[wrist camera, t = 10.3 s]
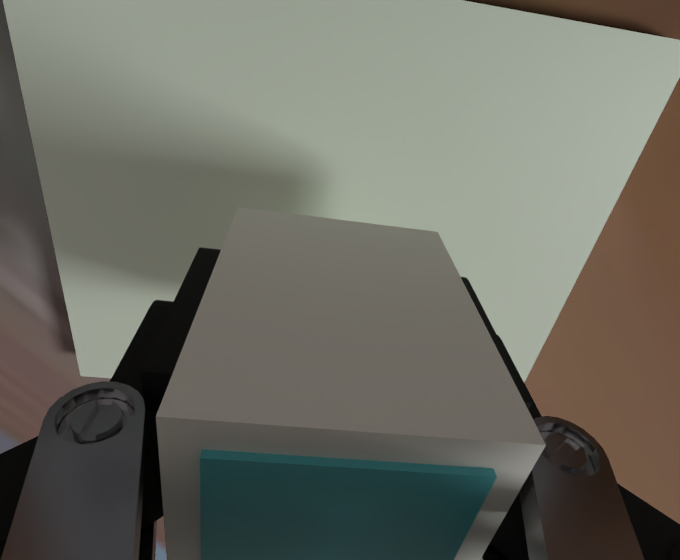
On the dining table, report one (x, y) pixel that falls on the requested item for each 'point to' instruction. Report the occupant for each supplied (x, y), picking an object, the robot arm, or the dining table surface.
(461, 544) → the teal label box
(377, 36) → the sage board
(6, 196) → the dining table surface
